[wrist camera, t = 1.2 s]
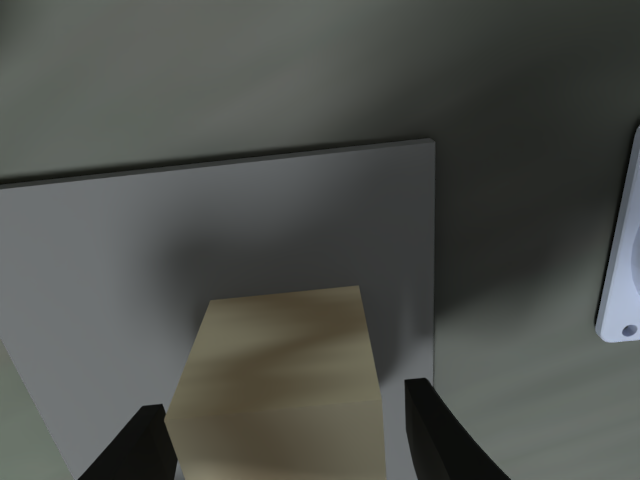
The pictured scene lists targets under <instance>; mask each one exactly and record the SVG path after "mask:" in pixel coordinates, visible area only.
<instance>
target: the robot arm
mask: <svg viewBox="0 0 640 480" xmlns="http://www.w3.org/2000/svg"><path fill="white" fill-rule="evenodd" d="M626 326H628V327H627V328H625V327H626ZM624 328H625V329H624ZM595 329H596V333H597V334H598V336H599V337H600V338H601V339H602V340H604V341H606V342H621V341H632V340H640V126H639V127H638V128H637V131H636V133H635V137H634V142H633V147H632V152H631V157H630V162H629V167H628V171H627V176H626V181H625V186H624V191H623V196H622V201H621V206H620V210H619V215H618V220H617V225H616V230H615V235H614V240H613V244H612V249H611V254H610V259H609V264H608V269H607V274H606V279H605V283H604V288H603V293H602V298H601V303H600V308H599V313H598V318H597V322H596V327H595ZM404 385H405V422H406V433H407V438H408V443H409V448H410V453H411V457H412V462H413V466H414V469H415V472H416V476H417V479H418V480H511V479H510V478H509V477H508V476H507V475H506V474H505V473H504V472H503V471H502V470H501V469H500V468H499V467H498V466H497V465H496V464H495V463H494V462H493V461H492V460H491V458H490V457H489V456H488V455H487V454H486V453H485V452H484V451H483V450H482V449H481V448H480V446H479V445H478V444H477V443H476V442H475V441H474V440H473V438H472V437H471V436H470V435H469V434H468V432H467V431H466V430H465V429H464V428H463V426H462V425H461V424H460V423H459V422H458V420H457V419H456V418H455V416H454V415H453V414H452V413H451V411H450V410H449V409H448V407H447V406H446V405H445V403H444V402H443V401H442V399H441V398H440V396H439V395H438V394H437V392H436V391H435V389H434V388H433V386H432V385H431V383H430V381H429V380H428V379H426V378H415V379H405V380H404ZM165 416H166V412H165V409H164V406H163V404H155V405H145V406H142V407H141V408H140V409H139V410H138V411H137V412H136V414H135V415H134V416H133V417H132V418H131V419H130V421H129V422H128V423H127V424H126V425H125V426H124V428H123V429H122V430H121V431H120V432H119V433H118V435H117V436H116V437H115V438H114V439H113V440H112V441H111V443H110V444H109V445H108V446H107V447H106V448H105V450H104V451H103V452H102V453H101V454H100V455H99V456H98V457H97V459H96V460H95V461H94V462H93V463H92V464H91V465H90V466H89V468H88V469H87V470H86V471H85V472H84V473H83V474H82V475H81V476H80V477H79V478H78V479H77V480H174V477H175V472H176V467H177V462H178V458H177V456H176V453H175V450H174V447H173V444H172V441H171V439H170V436H169V433H168V430H167V427H166V425H165V422H164V419H165Z"/></svg>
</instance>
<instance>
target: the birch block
mask: <svg viewBox="0 0 640 480" xmlns="http://www.w3.org/2000/svg"><path fill="white" fill-rule="evenodd" d="M164 422H165V425H166V427H167V430H168V433H169V436H170V439H171V441H172V444H173V447H174V450H175V453H176V456H177V458H178V461H179V464H180V467H181V470H182V472H183V475H184V478H185V480H386V462H385V445H384V427H383V410H382V398H381V393H380V388H379V383H378V378H377V373H376V368H375V363H374V358H373V353H372V348H371V343H370V338H369V333H368V328H367V323H366V318H365V313H364V308H363V303H362V299H361V294H360V289H359V285H358V286H348V287H338V288H328V289H318V290H308V291H298V292H288V293H278V294H268V295H259V296H249V297H239V298H229V299H219V300H210V302H209V305H208V308H207V310H206V313H205V315H204V318H203V321H202V323H201V326H200V328H199V331H198V333H197V336H196V339H195V341H194V344H193V346H192V349H191V351H190V354H189V357H188V359H187V362H186V364H185V367H184V370H183V372H182V375H181V377H180V380H179V382H178V385H177V388H176V390H175V393H174V395H173V398H172V401H171V403H170V406H169V408H168V411H167V413H166V416H165V419H164Z"/></svg>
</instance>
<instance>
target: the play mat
mask: <svg viewBox="0 0 640 480" xmlns="http://www.w3.org/2000/svg"><path fill="white" fill-rule="evenodd" d="M434 235H435V141H433V140H432V139H431V138H425V139H416V140H406V141H397V142H388V143H379V144H370V145H361V146H351V147H342V148H333V149H324V150H315V151H305V152H296V153H287V154H278V155H269V156H260V157H250V158H241V159H232V160H223V161H214V162H204V163H195V164H186V165H177V166H168V167H158V168H149V169H140V170H131V171H122V172H113V173H103V174H94V175H85V176H76V177H67V178H57V179H48V180H39V181H30V182H21V183H11V184H2V185H0V338H1V340H2V342H3V344H4V346H5V348H6V350H7V352H8V354H9V356H10V358H11V360H12V361H13V363H14V365H15V367H16V369H17V371H18V373H19V375H20V377H21V379H22V381H23V383H24V385H25V386H26V388H27V390H28V392H29V394H30V396H31V398H32V400H33V402H34V404H35V406H36V408H37V410H38V411H39V413H40V415H41V417H42V419H43V421H44V423H45V425H46V427H47V429H48V431H49V433H50V435H51V437H52V438H53V440H54V442H55V444H56V446H57V448H58V450H59V452H60V454H61V456H62V458H63V460H64V462H65V463H66V465H67V467H68V469H69V471H70V473H71V475H72V477H73V479H74V480H77V479H78V478H79V477H80V476H81V475H82V474H83V473H84V472H85V471H86V470H87V469H88V468H89V466H90V465H91V464H92V463H93V462H94V461H95V460H96V459H97V457H98V456H99V455H100V454H101V453H102V452H103V451H104V450H105V448H106V447H107V446H108V445H109V444H110V443H111V441H112V440H113V439H114V438H115V437H116V436H117V435H118V433H119V432H120V431H121V430H122V429H123V428H124V426H125V425H126V424H127V423H128V422H129V421H130V419H131V418H132V417H133V416H134V415H135V414H136V412H137V411H138V410H139V409H140V408H141V407H142V406H145V405H155V404H163V406H164V409H165V412H166V413H167V411H168V408H169V406H170V403H171V401H172V398H173V395H174V393H175V390H176V388H177V385H178V382H179V380H180V377H181V375H182V372H183V370H184V367H185V364H186V362H187V359H188V357H189V354H190V351H191V349H192V346H193V344H194V341H195V339H196V336H197V333H198V331H199V328H200V326H201V323H202V321H203V318H204V315H205V313H206V310H207V308H208V305H209V302H210V300H219V299H229V298H239V297H249V296H259V295H268V294H278V293H288V292H298V291H308V290H318V289H328V288H338V287H348V286H358V285H359V289H360V294H361V299H362V303H363V308H364V313H365V318H366V323H367V328H368V333H369V338H370V343H371V348H372V353H373V358H374V363H375V368H376V373H377V378H378V383H379V388H380V393H381V398H382V410H383V427H384V445H385V462H386V480H418V479H417V476H416V472H415V469H414V466H413V462H412V457H411V453H410V448H409V443H408V438H407V433H406V422H405V385H404V380H405V379H415V378H426V379H428V380H429V381H430V383H431V385H432V386H433V336H434ZM174 480H185V478H184V475H183V472H182V470H181V467H180V464H179V461H178V462H177V467H176V472H175V477H174Z"/></svg>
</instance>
